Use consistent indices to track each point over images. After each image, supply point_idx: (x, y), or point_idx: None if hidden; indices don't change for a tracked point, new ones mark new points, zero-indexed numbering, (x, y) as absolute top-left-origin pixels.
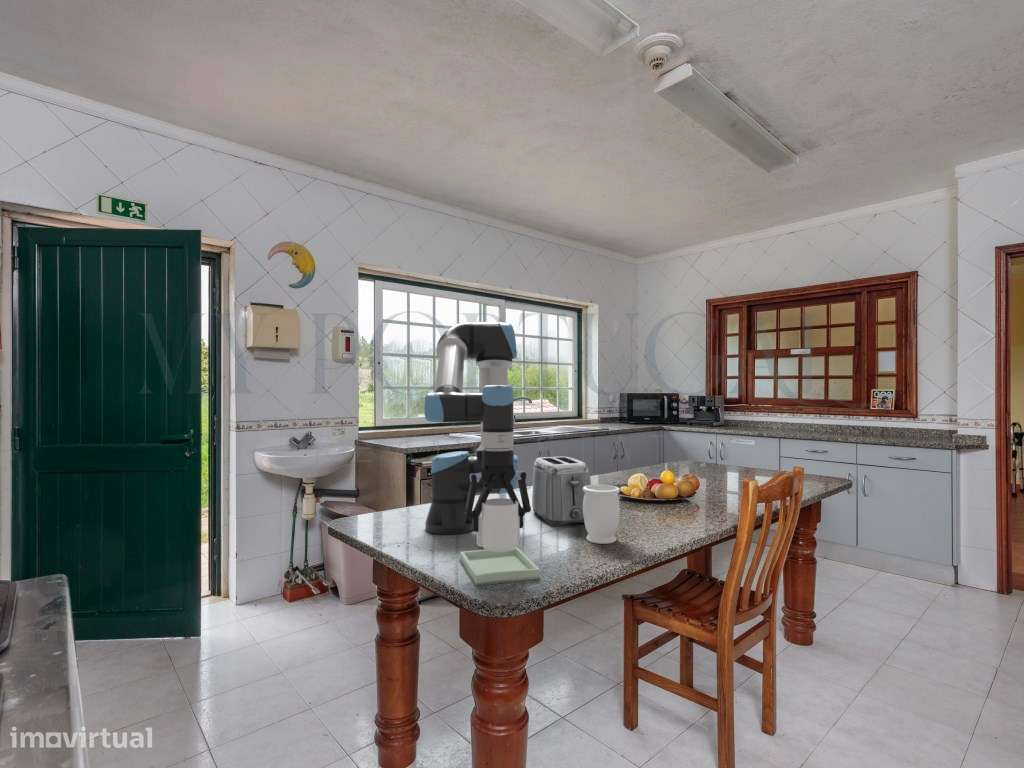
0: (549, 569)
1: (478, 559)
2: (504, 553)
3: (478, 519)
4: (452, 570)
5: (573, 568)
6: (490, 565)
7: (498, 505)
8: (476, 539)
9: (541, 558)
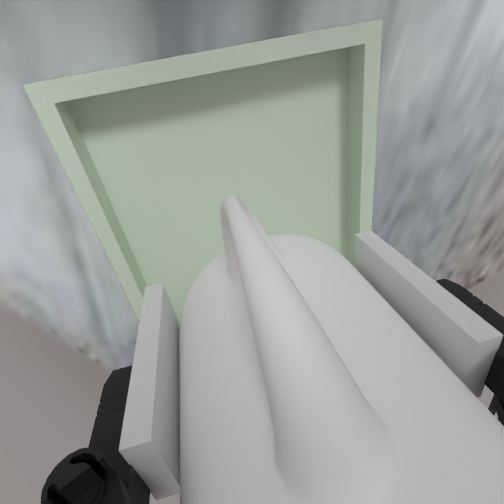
0: (409, 228)
1: (154, 121)
2: (296, 57)
3: (150, 483)
4: (46, 227)
5: (478, 222)
6: (214, 211)
7: (406, 451)
8: (143, 304)
9: (439, 100)
